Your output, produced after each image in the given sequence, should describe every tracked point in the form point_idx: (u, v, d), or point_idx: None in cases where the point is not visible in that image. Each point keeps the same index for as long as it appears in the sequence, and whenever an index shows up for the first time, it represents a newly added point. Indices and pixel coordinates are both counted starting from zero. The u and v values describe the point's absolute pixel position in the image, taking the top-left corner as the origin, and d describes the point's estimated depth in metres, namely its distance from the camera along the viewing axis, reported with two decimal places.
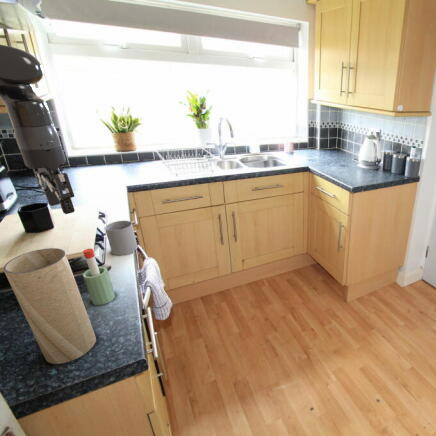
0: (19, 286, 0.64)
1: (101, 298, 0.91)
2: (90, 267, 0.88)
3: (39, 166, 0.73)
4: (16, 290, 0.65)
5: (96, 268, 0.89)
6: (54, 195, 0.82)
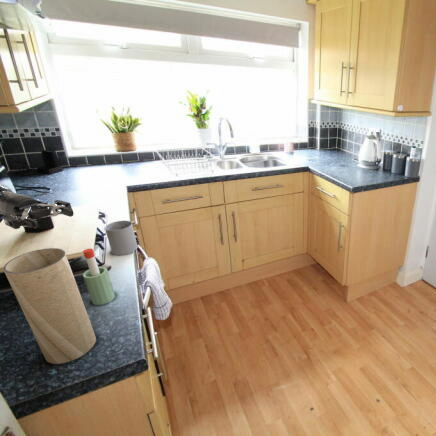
0: (19, 286, 0.64)
1: (101, 298, 0.91)
2: (90, 267, 0.88)
3: None
4: (16, 290, 0.65)
5: (96, 268, 0.89)
6: None
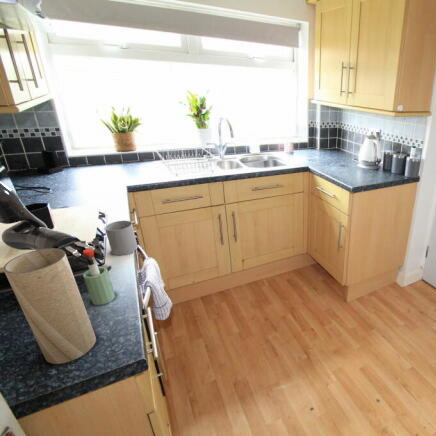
0: (19, 286, 0.64)
1: (101, 298, 0.91)
2: (90, 267, 0.88)
3: (75, 237, 0.93)
4: (16, 290, 0.65)
5: (96, 268, 0.89)
6: None
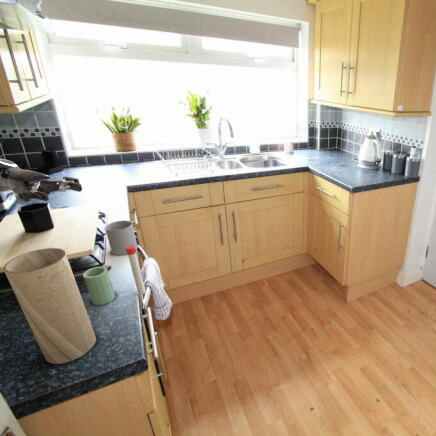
0: (19, 285, 0.64)
1: (101, 298, 0.91)
2: (132, 263, 0.92)
3: None
4: (16, 290, 0.65)
5: (137, 264, 0.93)
6: None
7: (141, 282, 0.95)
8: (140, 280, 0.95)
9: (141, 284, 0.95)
